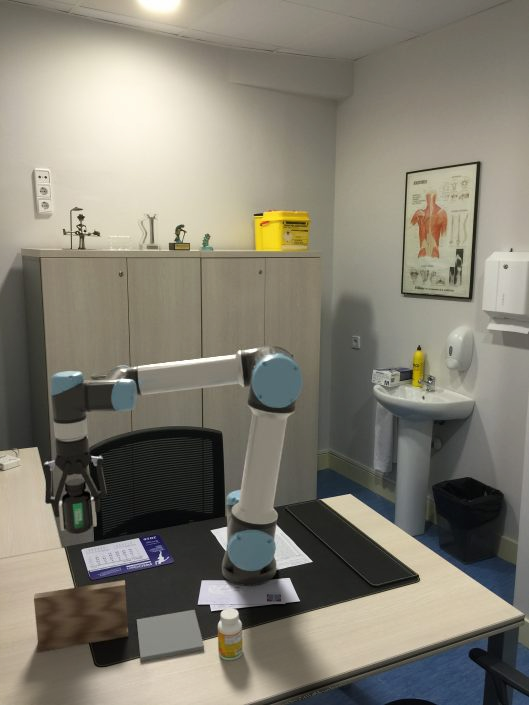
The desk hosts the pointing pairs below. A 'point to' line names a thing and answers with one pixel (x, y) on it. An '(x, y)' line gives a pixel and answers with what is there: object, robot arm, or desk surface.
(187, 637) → the slate mat
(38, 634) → the walnut screen
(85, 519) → the supplement bottle
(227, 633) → the supplement bottle
